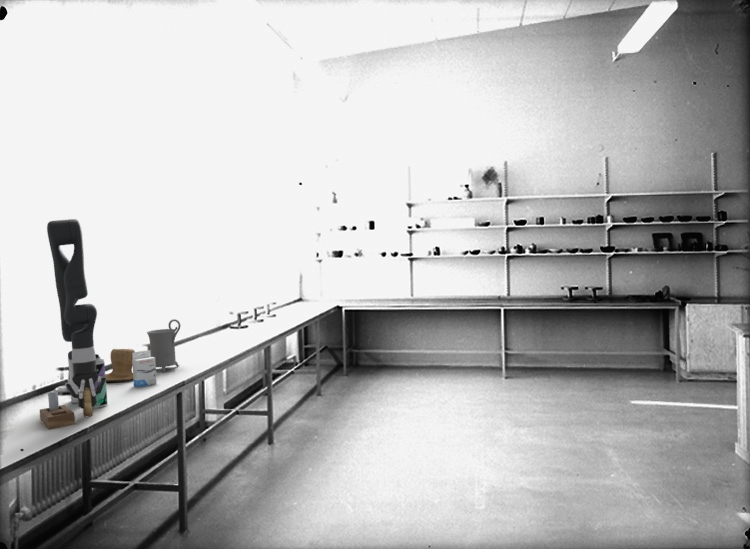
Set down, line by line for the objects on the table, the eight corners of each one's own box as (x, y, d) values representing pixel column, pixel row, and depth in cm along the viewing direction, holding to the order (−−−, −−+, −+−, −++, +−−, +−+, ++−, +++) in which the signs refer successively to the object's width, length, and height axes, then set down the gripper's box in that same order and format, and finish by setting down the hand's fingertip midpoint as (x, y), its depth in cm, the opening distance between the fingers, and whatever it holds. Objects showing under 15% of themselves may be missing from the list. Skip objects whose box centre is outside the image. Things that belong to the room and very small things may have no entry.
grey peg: (49, 420, 210) (47, 392, 209) (58, 418, 212) (56, 390, 211) (51, 421, 207) (48, 393, 207) (60, 420, 209) (58, 392, 209)
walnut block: (40, 420, 210) (39, 409, 210) (65, 415, 215) (64, 404, 215) (48, 429, 198) (48, 417, 198) (75, 423, 203) (74, 412, 203)
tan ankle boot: (141, 376, 280) (139, 345, 279) (132, 382, 268) (129, 349, 267) (108, 378, 279) (106, 347, 278) (98, 384, 267) (95, 351, 267)
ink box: (137, 387, 256) (135, 353, 256) (133, 385, 260) (131, 352, 259) (157, 383, 262) (154, 350, 262) (152, 382, 266) (150, 349, 265)
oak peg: (82, 415, 213) (80, 388, 213) (91, 414, 215) (89, 386, 215) (84, 417, 211) (82, 389, 211) (93, 415, 213) (91, 388, 213)
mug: (140, 372, 289) (136, 322, 288) (156, 366, 304) (153, 318, 303) (175, 372, 286) (172, 321, 285) (190, 366, 300) (187, 317, 299)
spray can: (88, 407, 225) (84, 355, 224) (99, 403, 230) (96, 352, 229) (99, 408, 223) (95, 355, 222) (110, 404, 228) (107, 353, 227)
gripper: (101, 355, 220) (105, 401, 220) (60, 361, 211) (63, 409, 212) (107, 358, 214) (111, 405, 215) (64, 364, 205) (68, 413, 206)
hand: (87, 407), depth 213 cm, fingers closed on oak peg, 3 cm apart
